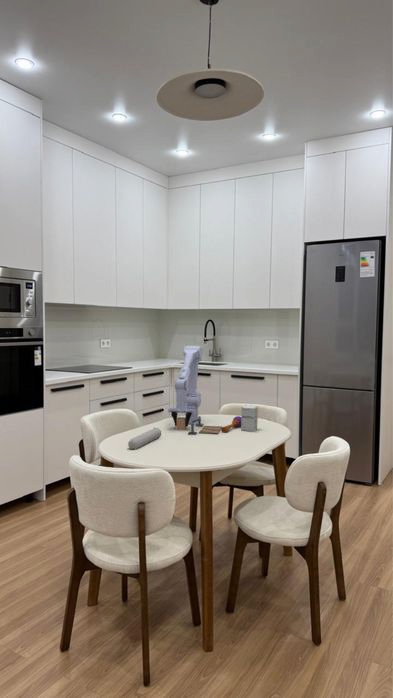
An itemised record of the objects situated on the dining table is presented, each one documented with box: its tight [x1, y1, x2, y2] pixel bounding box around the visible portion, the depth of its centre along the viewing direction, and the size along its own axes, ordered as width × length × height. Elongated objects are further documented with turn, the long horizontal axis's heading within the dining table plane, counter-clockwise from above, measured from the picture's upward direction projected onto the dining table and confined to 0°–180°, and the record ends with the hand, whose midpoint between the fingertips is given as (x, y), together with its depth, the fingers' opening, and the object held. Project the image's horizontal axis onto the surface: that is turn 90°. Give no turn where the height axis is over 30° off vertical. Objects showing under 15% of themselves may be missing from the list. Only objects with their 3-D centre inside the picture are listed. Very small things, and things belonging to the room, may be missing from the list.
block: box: [176, 416, 187, 431], centre depth 255 cm, size 4×4×6 cm
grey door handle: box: [187, 415, 205, 436], centre depth 254 cm, size 24×4×5 cm, turn 169°
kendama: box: [220, 415, 241, 434], centre depth 256 cm, size 6×6×20 cm
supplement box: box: [240, 404, 259, 432], centre depth 254 cm, size 7×7×13 cm
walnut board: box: [198, 425, 223, 435], centre depth 253 cm, size 16×10×1 cm, turn 169°
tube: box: [127, 427, 162, 450], centre depth 225 cm, size 5×5×25 cm
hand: (181, 426), depth 255 cm, fingers open, 5 cm apart
